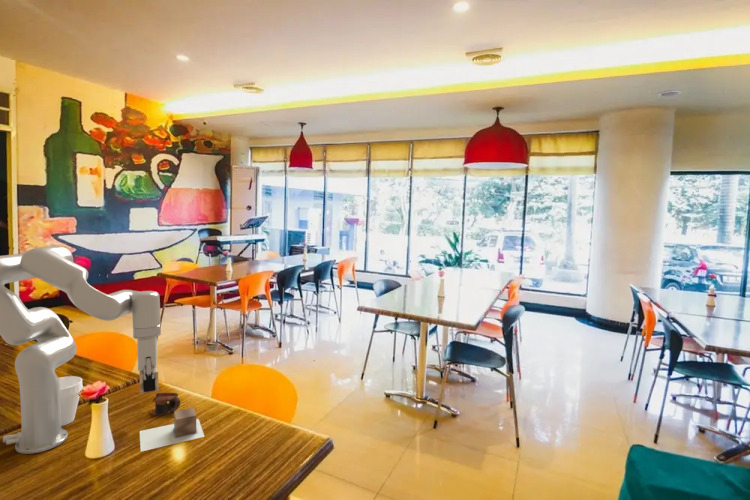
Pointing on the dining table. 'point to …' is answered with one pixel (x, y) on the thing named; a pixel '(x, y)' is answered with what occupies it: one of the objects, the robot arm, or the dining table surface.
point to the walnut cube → (185, 422)
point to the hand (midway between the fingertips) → (149, 386)
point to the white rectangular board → (165, 436)
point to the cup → (69, 397)
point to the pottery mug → (165, 403)
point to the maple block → (143, 378)
